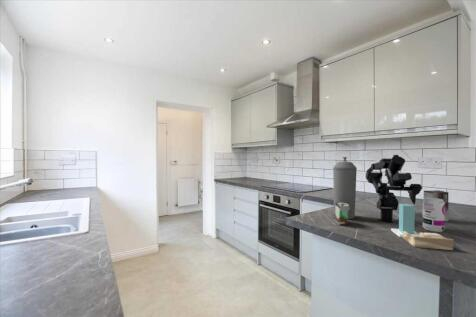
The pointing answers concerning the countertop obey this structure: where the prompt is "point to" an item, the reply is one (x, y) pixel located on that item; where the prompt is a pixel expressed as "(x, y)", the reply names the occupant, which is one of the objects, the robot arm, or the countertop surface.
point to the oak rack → (429, 241)
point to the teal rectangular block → (406, 218)
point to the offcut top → (433, 235)
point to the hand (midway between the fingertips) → (403, 203)
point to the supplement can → (433, 214)
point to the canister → (345, 185)
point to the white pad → (402, 233)
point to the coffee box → (439, 195)
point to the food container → (341, 213)
